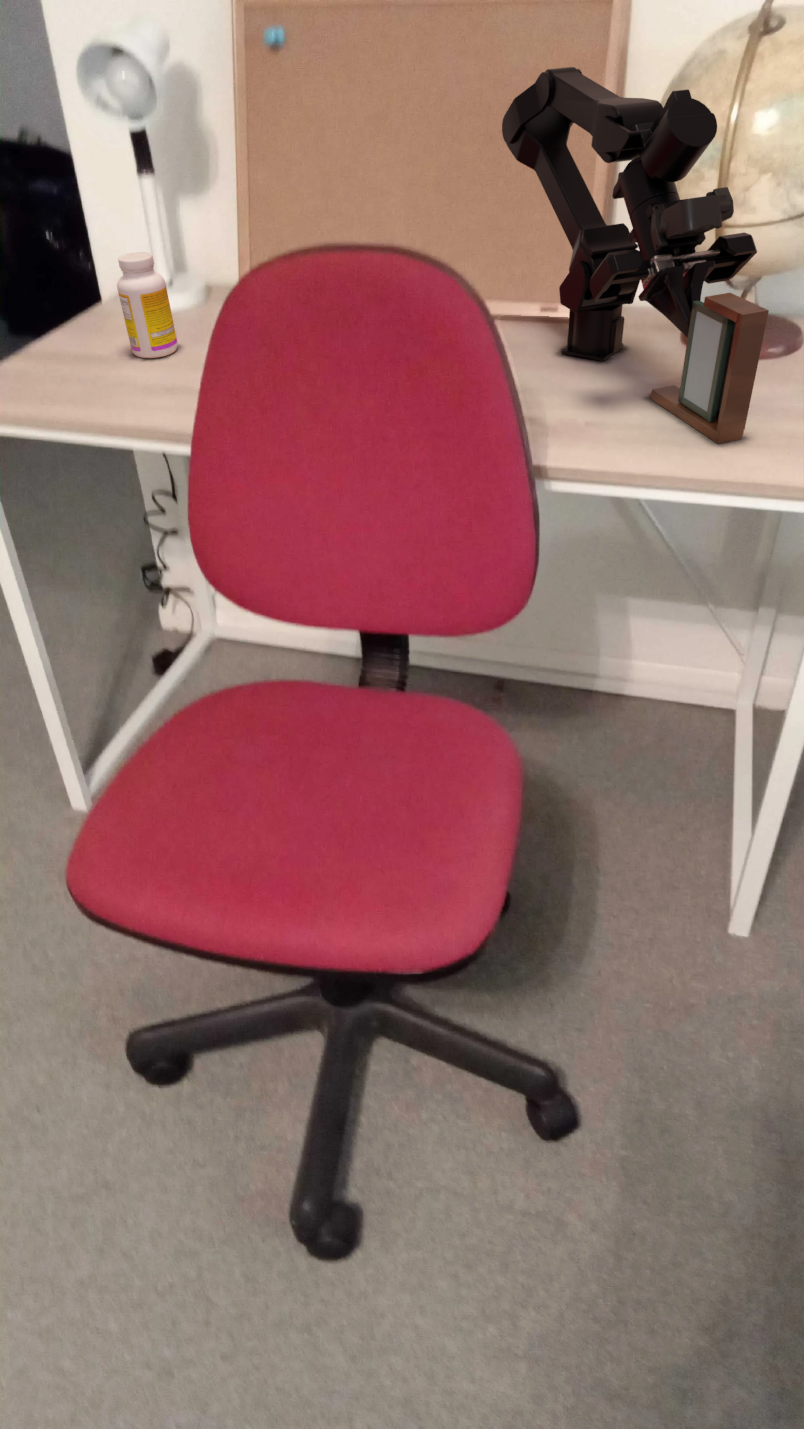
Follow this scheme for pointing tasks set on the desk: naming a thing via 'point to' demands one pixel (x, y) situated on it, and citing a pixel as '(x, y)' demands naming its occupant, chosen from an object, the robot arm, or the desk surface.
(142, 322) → the supplement bottle
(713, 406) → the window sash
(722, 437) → the window frame
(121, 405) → the desk surface
